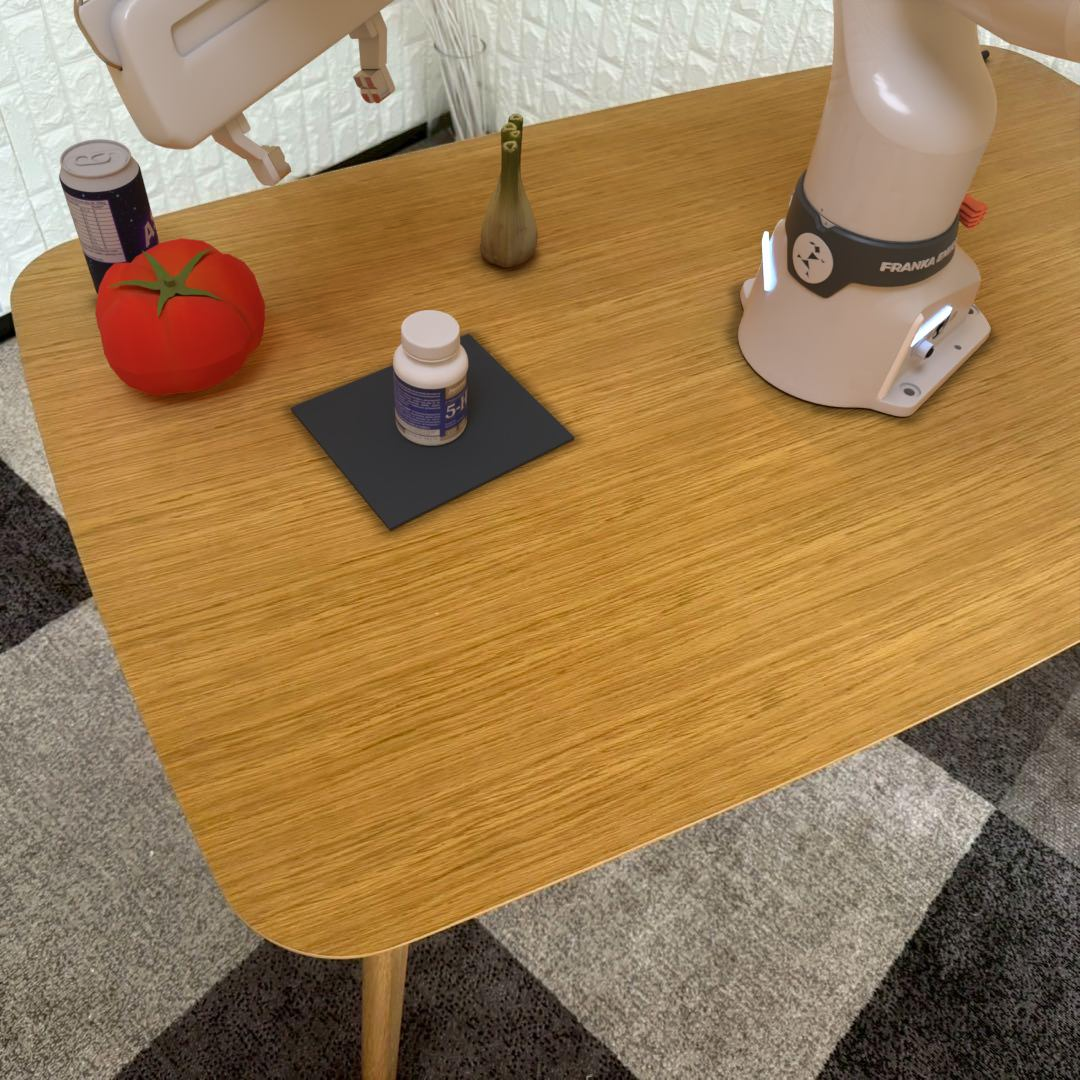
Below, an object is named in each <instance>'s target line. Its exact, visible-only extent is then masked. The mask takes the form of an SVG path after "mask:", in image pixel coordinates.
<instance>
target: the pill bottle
mask: <svg viewBox="0 0 1080 1080" xmlns="http://www.w3.org/2000/svg"><path fill="white" fill-rule="evenodd" d="M401 323H402V324H401V326H400V342H401V343H400V344H399V345H398V347H397V348H396V349H395V351H394V353H393V358H392V365H393V378H394V398H395V418H396V425H397V427H398V430H399V431H400V433H401V434H402V435H403V436H404V437H405V438H407V439H408V440H410V441H412V442H414V443H417V444H420V445H426V446H437V445H443V444H446V443H449V442H451V441H453V440H455V439H456V438H457V437H459V436H460V435H461V433H462V432H463V431H464V429H465V427H466V423H467V396H468V356H467V354H466V351H465V349H464V348H463V347H462V346H461V344H460V337H461V327H460V325H459V322H458V321H457V319H456V318H454V317H453V316H452V315H451V314H449V313H446V312H444V311H440V310H434V309H424V310H419V311H416V312H413V313H412V314H410V315H408V316H407V317H405V319H404V320H403V322H401Z"/></svg>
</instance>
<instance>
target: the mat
mask: <svg viewBox="0 0 1080 1080" xmlns="http://www.w3.org/2000/svg"><path fill="white" fill-rule="evenodd" d="M460 344H461V346H462V347H463V348H464V349H465V351H466V354H467V356H468V396H467V423H466V427H465V429H464V431H463V432H462V433H461V435H460V436H459V437H457V438H456V439H455V440H453V441H451V442H449V443H446V444H443V445H437V446H426V445H420V444H417V443H414V442H412V441H410V440H408V439H407V438H405V437H404V436H403V435H402V434H401V433H400V431H399V430H398V427H397V425H396V418H395V398H394V378H393V364H392V365H390V366H389V365H388V366H387V367H385V368H382V369H380V370H378V371H375V372H372V373H370V374H368V375H365V376H363V377H360V378H358V379H356V380H353V381H351V382H348V383H346V384H344V385H342V386H339V387H336V388H334V389H332V390H330V391H327V392H324V393H322V394H319V395H317V396H315V397H313V398H310V399H307V400H304V401H302V402H300V403H298V404H295V405H293V406H291V407H290V411H291V412H292V413H293V415H294V416H295V417H296V418H297V420H298V421H299V422H300V423H301V424H302V426H303V427H304V428H305V429H306V430H307V432H308V433H309V434H310V435H311V437H313V439H314V440H315V442H316V443H317V444H318V445H319V446H320V448H321V449H322V450H323V451H324V452H325V454H327V456H328V457H329V458H330V460H331V461H332V462H333V463H334V464H335V466H336V467H337V468H338V469H339V471H340V472H341V473H342V474H343V476H344V477H345V478H346V479H347V480H348V482H349V483H350V484H351V485H352V486H353V488H354V489H355V490H356V491H357V493H358V494H359V495H360V496H361V497H362V499H363V500H364V501H365V502H366V504H367V505H368V506H369V507H370V508H371V510H372V511H373V512H374V514H375V515H376V516H377V517H378V518H379V519H380V521H381V522H382V523H383V524H384V525H385V527H386V528H387V529H388V531H390V532H391V531H393V530H395V529H397V528H399V527H402V526H403V525H405V524H407V523H409V522H412V521H413V520H415V519H417V518H419V517H421V516H423V515H425V514H428V513H429V512H431V511H433V510H436V509H437V508H439V507H441V506H443V505H445V504H448V503H450V502H452V501H454V500H456V499H458V498H459V497H461V496H463V495H466V494H468V493H469V492H472V491H474V490H476V489H478V488H480V487H482V486H484V485H486V484H488V483H490V482H492V481H494V480H496V479H498V478H500V477H502V476H504V475H506V474H508V473H510V472H513V470H516V469H518V468H521V467H523V466H524V465H526V464H528V463H530V462H533V461H534V460H536V459H538V458H541V457H542V456H544V455H546V454H549V453H551V452H553V451H555V450H557V449H559V448H561V447H563V446H564V445H567V444H569V443H571V442H573V441H575V436H574V435H573V434H572V432H570V431H569V430H568V429H567V428H566V427H565V426H564V425H563V424H562V423H561V422H560V421H559V420H558V419H557V418H556V417H555V416H554V415H552V413H551V412H550V411H549V410H548V409H546V407H544V406H543V405H542V403H540V401H538V399H536V397H534V396H533V394H532V393H530V392H529V391H528V390H527V389H526V388H525V387H524V386H523V385H522V383H520V382H519V381H518V380H517V379H516V378H515V377H514V376H513V375H512V374H511V373H510V371H508V370H506V368H505V367H503V365H502V364H501V363H500V362H499V361H498V360H497V359H496V358H494V356H493V355H492V354H490V353H489V351H488V350H486V349H485V348H484V346H482V345H481V344H480V343H479V341H477V340H476V339H475V338H474V337H473V336H472V335H471V334H470V333H466V334H464V335H460Z"/></svg>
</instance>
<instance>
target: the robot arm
mask: <svg viewBox="0 0 1080 1080" xmlns="http://www.w3.org/2000/svg"><path fill="white" fill-rule="evenodd" d="M393 2H395V0H73V18H74V21H75V23H76V25H77V27H78V29H79V31H80V32H81V33H82V36H83V37H84V38H85V40H86V42H87V43H88V45H89V46H90V48H91V50H92V51H93V53H94V54H95V55H96V56H97V58H99V60H101V61H102V62H103V63H104V64H105V66H106V69H107V71H108V74H109V75H110V77H111V79H112V81H113V84H114V86H115V88H116V90H117V92H118V94H119V96H120V98H121V100H122V102H123V104H124V106H125V108H126V111H127V112H128V114H129V116H130V118H131V119H132V121H133V123H134V125H135V126H136V128H137V130H138V132H139V133H140V134H141V136H142V137H143V138H144V140H146V141H147V142H150V144H153V145H155V146H158V147H160V148H164V149H168V150H177V151H178V150H181V151H183V150H185V151H186V150H192V149H193V148H195V147H197V146H198V145H200V144H201V143H202V142H204V141H205V140H206V139H207V138H209V137H210V136H211V137H212V138H213V140H214V142H215V143H217V144H219V145H220V146H222V147H224V148H225V149H227V150H228V151H230V152H232V153H233V154H235V155H237V156H238V157H240V158H241V159H243V160H246V162H247V164H248V165H249V167H250V169H251V171H252V174H254V176H255V178H256V179H257V181H258V182H259V183H260V184H261V185H262V186H269V187H275V186H276V185H278V184H279V183H280V182H281V181H282V180H284V179H285V178H286V177H287V176H288V175H290V174H291V172H292V167H291V165H290V163H289V162H287V161H286V158H285V157H286V156H285V154H284V153H283V151H282V148H281V147H280V146H279V145H271V146H270V145H266V144H265V145H263V144H262V145H259V144H258V143H256V142H255V141H253V140H252V139H250V138H249V137H248V136H246V134H247V133H249V132H250V131H251V128H252V127H251V125H250V123H249V122H248V120H247V118H246V116H245V114H244V112H245V111H246V110H248V109H249V108H250V107H251V106H253V105H254V104H255V103H257V102H258V101H259V100H261V99H262V98H264V97H265V96H266V95H268V94H269V93H270V92H272V91H273V90H274V89H277V88H278V87H279V86H280V85H281V84H283V83H284V82H285V81H287V80H288V79H289V78H291V77H292V76H294V75H295V74H296V73H298V72H299V71H301V70H302V69H303V68H305V67H306V66H307V65H308V64H310V63H311V62H313V61H314V60H315V59H317V58H318V57H320V56H321V55H322V54H324V53H325V52H326V51H328V50H329V49H330V48H332V47H334V45H337V44H338V42H340V41H341V40H343V39H344V38H345V37H346V36H349V38H350V39H352V40H358V52H359V53H358V54H359V65H360V66H359V67H360V70H359V71H358V72H356V74H354V75H353V76H352V78H353V80H354V82H355V85H356V87H357V88H359V89H360V96H361V97H362V99H363V100H364V101H365V103H367V104H373V103H375V104H380V103H382V102H383V101H384V100H385V99H386V98H388V97H389V96H391V94H393V93H394V92H395V90H396V86H395V83H394V81H393V79H392V76H391V74H390V71H389V68H388V67H387V63H388V27H387V24H386V22H385V20H384V18H383V15H382V13H381V11H382V10H383V9H386V7H387V6H389V5H391V3H393ZM832 11H833V12H832V13H833V14H832V15H833V47H832V48H833V50H832V64H831V70H830V71H831V72H830V78H829V79H830V80H829V85H828V90H827V95H826V98H825V102H824V107H823V111H822V115H821V118H820V122H819V126H818V129H817V133H816V137H815V141H814V144H813V148H812V152H811V156H810V158H809V162H808V166H807V168H806V169H804V171H802V173H801V174H800V176H799V178H798V179H797V183H796V185H795V187H794V188H793V191H792V194H791V196H790V198H789V202H788V210H787V213H786V216H785V218H781V219H780V220H778V222H777V223H776V225H775V226H774V229H773V232H772V234H771V236H769V231H764V232H763V235H762V240H761V246H762V247H761V248H762V259H761V262H760V265H759V267H758V269H757V272H756V275H755V277H751V278H748V279H746V280H745V281H744V282H743V283H742V286H741V289H740V291H739V298H740V303H741V306H742V309H743V313H742V317H741V319H740V322H739V325H738V329H737V341H738V345H739V348H740V351H741V354H742V355H743V357H744V359H745V360H746V362H747V363H748V364H749V366H750V367H751V368H752V369H753V371H755V372H756V373H757V374H758V375H759V376H760V377H761V378H763V379H764V380H765V381H767V382H768V383H769V384H771V385H772V386H774V387H775V388H777V389H778V390H780V391H782V392H784V393H786V394H789V395H790V396H793V397H796V398H798V399H800V400H803V401H807V402H809V403H814V404H817V405H821V406H828V407H835V408H861V409H870V410H873V411H877V412H880V413H883V414H887V415H890V416H895V417H901V418H902V417H904V418H905V417H906V418H907V417H910V416H912V415H913V414H914V413H915V412H916V411H917V410H919V408H921V406H922V405H923V404H924V403H925V402H926V401H928V400H929V398H930V397H932V395H933V394H934V393H935V392H937V391H938V389H940V388H941V386H943V384H944V383H946V381H948V379H949V378H950V377H952V376H953V375H954V373H955V372H956V371H957V370H958V369H960V367H961V366H963V364H965V362H966V361H967V360H968V359H969V358H971V356H972V355H974V353H976V351H978V350H979V348H980V347H981V346H982V345H983V344H984V343H985V342H986V341H987V339H988V338H989V336H990V333H991V331H992V328H991V325H990V323H989V321H988V319H987V318H986V316H985V315H984V314H983V312H982V311H981V310H980V309H979V308H978V306H977V305H976V304H975V303H974V301H975V299H976V297H977V295H978V292H979V289H980V287H981V283H982V275H981V273H980V270H979V268H978V265H977V264H976V262H975V261H974V259H972V257H970V256H969V254H968V253H967V252H966V251H965V250H964V249H963V248H962V247H961V246H960V245H959V244H958V233H959V227H960V223H961V224H962V225H963V226H964V228H967V230H972V229H974V228H976V227H977V226H978V225H980V222H982V221H983V219H984V218H985V216H986V215H987V211H988V204H987V203H985V202H983V201H981V200H978V199H975V198H974V197H973V196H972V195H971V193H967V192H968V191H969V188H970V186H971V184H972V182H973V179H974V177H975V175H976V172H977V170H978V169H979V165H980V163H981V161H982V159H983V157H984V154H985V152H986V150H987V148H988V145H989V143H990V141H991V139H992V136H993V134H994V131H995V127H996V122H997V116H998V101H997V100H998V99H997V92H996V89H995V85H994V82H993V80H992V76H991V74H990V72H989V70H988V67H987V65H986V63H985V60H987V59H988V58H989V57H990V55H991V54H990V51H989V50H988V49H984V50H983V51H981V45H980V40H979V32H978V26H980V27H981V28H982V29H984V30H986V31H987V32H988V33H991V34H992V35H994V36H996V37H997V38H999V39H1001V40H1002V41H1004V42H1005V43H1007V44H1009V45H1012V46H1015V47H1019V48H1022V49H1025V50H1029V51H1031V52H1036V53H1038V54H1041V55H1045V56H1049V57H1053V58H1056V59H1061V60H1064V61H1068V62H1072V63H1076V64H1080V0H832ZM769 237H770V238H769Z"/></svg>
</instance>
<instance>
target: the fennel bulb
mask: <svg viewBox="0 0 1080 1080" xmlns="http://www.w3.org/2000/svg"><path fill="white" fill-rule="evenodd" d="M507 119H508V120H507V123H506V124H504V125H503V126H502V128H501V129H500V150H501V151H500V153H501V155H500V157H501V160H500V163H501V164H500V173H499V176H498V179H497V182H496V185H495V187H494V188H493V192H492V194H491V196H490V199H489V201H488V205H487V207H486V211H485V213H484V217H483V221H482V225H481V228H480V244H479V251H480V253H481V255H482V257H483V259H485V260H486V261H487V262H489V263H490V264H492V265H497V266H498V267H502V268H512V267H515V266H518V265H520V264H522V263H525V262H527V261H528V260H529V259H531V258H532V257H533V255H534V253H535V250H536V248H537V245H538V237H539V236H538V228H537V223H536V219H535V216H534V213H533V209H532V207H531V203H530V200H529V198H528V195H527V192H526V190H525V187H524V183H523V180H522V171H521V169H522V168H521V161H522V144H523V143H522V142H523V131H524V116H522V114H520V113H512V114H511V115H510V116H509V117H508V118H507Z"/></svg>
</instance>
